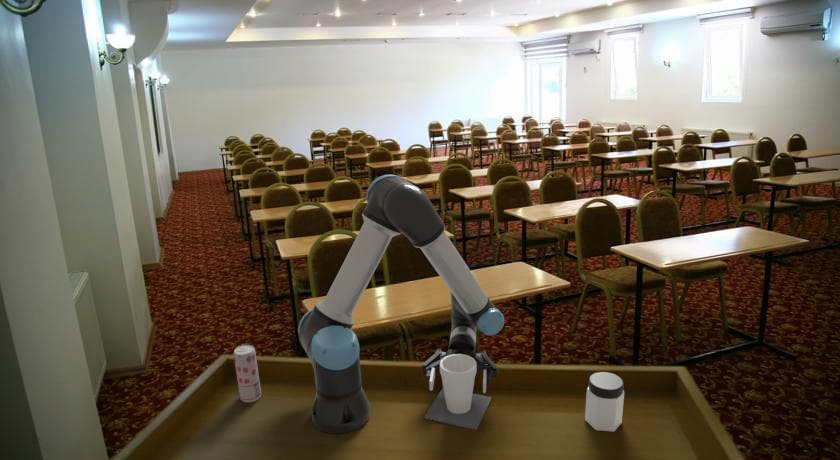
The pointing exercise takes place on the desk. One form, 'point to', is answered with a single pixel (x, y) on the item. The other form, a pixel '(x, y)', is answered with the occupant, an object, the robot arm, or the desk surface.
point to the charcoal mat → (462, 420)
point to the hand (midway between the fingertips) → (457, 387)
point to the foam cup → (458, 381)
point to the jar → (604, 401)
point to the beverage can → (247, 373)
